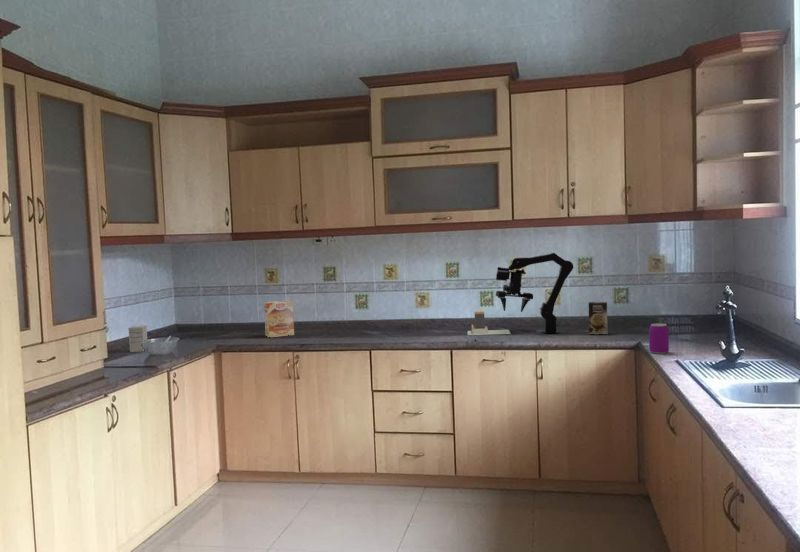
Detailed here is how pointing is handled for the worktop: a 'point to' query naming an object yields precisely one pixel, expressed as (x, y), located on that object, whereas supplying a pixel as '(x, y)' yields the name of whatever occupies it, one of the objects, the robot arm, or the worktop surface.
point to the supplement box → (137, 337)
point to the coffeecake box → (279, 318)
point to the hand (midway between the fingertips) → (512, 311)
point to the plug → (479, 320)
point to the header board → (486, 331)
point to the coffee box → (597, 317)
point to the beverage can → (659, 338)
